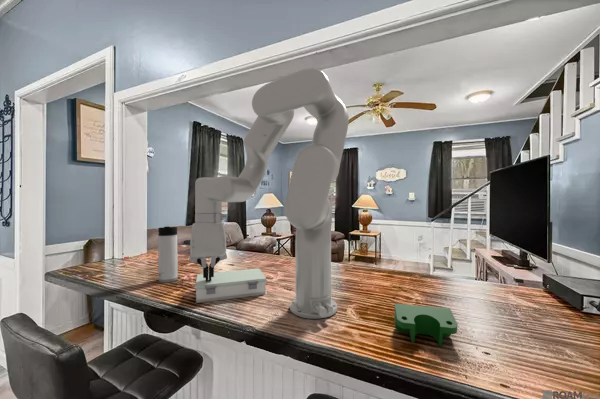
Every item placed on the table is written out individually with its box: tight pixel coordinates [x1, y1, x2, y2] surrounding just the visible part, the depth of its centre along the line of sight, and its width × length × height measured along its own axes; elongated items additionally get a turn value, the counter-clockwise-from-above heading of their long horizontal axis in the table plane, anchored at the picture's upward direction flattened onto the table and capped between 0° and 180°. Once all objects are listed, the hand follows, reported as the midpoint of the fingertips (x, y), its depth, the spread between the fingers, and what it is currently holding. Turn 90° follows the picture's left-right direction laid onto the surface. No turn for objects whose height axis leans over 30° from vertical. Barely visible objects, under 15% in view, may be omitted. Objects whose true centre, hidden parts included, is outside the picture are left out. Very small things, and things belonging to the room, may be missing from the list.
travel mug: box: [157, 226, 179, 284], centre depth 95 cm, size 6×7×20 cm
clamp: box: [394, 303, 458, 347], centre depth 54 cm, size 12×6×9 cm, turn 69°
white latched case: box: [195, 281, 267, 304], centre depth 82 cm, size 13×20×4 cm, turn 109°
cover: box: [194, 268, 267, 290], centre depth 82 cm, size 14×20×1 cm
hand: (208, 279), depth 78 cm, fingers closed
